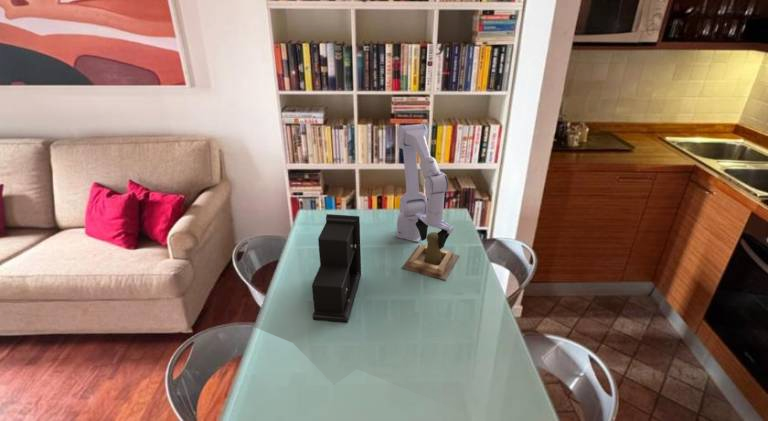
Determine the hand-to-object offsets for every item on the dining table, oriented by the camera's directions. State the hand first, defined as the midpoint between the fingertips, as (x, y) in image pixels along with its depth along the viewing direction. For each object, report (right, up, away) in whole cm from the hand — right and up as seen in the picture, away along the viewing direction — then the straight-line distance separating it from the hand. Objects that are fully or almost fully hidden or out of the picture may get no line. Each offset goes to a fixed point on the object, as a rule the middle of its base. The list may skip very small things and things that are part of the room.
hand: (432, 243), depth 143 cm
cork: (+1, -7, +4) cm, 8 cm away
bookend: (-31, -16, -13) cm, 37 cm away
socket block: (0, -7, +4) cm, 8 cm away
